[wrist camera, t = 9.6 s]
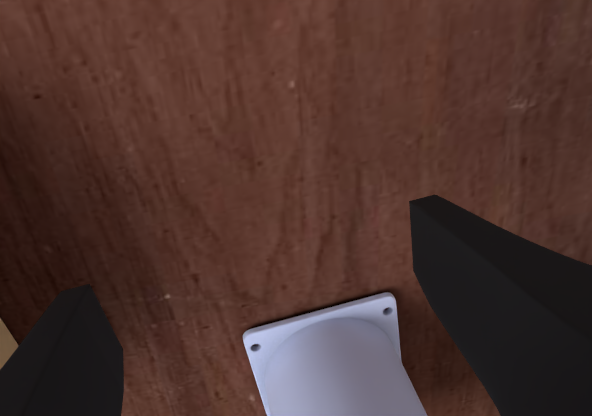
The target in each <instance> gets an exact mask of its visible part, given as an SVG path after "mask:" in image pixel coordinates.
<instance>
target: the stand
mask: <svg viewBox="0 0 592 416" xmlns="http://www.w3.org/2000/svg"><path fill="white" fill-rule="evenodd" d="M18 346H19V345H18V344H17V342H16V341H15V339H14V338H13V336H12V335H11V333H10V332H9V330H8V329H7V327H6V326H5V324H4V323H3V321H2V320H1V318H0V369H1V368H2V367H3V366H4V364H5V363H6V362H7V360H8V359H9V358H10V357H11V355H12V354H13V353H14V351H15V350H16V349H17V348H18Z"/></svg>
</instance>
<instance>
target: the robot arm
mask: <svg viewBox="0 0 592 416" xmlns="http://www.w3.org/2000/svg"><path fill="white" fill-rule="evenodd" d="M409 203H410V220H411V236H412V253H413V270H414V273H415V275H416V277H417V279H418V281H419V283H420V286H421V288H422V290H423V292H424V294H425V296H426V298H427V300H428V302H429V304H430V306H431V307H432V309H433V311H434V312H435V314H436V315H437V317H438V318H439V320H440V321H441V323H442V324H443V326H444V327H445V329H446V330H447V332H448V333H449V335H450V336H451V338H452V339H453V341H454V342H455V344H456V345H457V347H458V348H459V350H460V351H461V353H462V354H463V356H464V357H465V359H466V360H467V362H468V363H469V365H470V366H471V368H472V369H473V371H474V372H475V374H476V375H477V377H478V378H479V380H480V381H481V382H482V384H483V385H484V387H485V389H486V390H487V392H488V394H489V395H490V397H491V399H492V400H493V402H494V404H495V405H496V407H497V409H498V411H499V413H500V415H501V416H592V265H589V264H586V263H583V262H580V261H577V260H574V259H572V258H569V257H566V256H564V255H561V254H559V253H556V252H554V251H552V250H549V249H547V248H544V247H542V246H540V245H537V244H535V243H533V242H530V241H528V240H526V239H524V238H522V237H519V236H517V235H515V234H513V233H511V232H509V231H507V230H505V229H502V228H500V227H498V226H496V225H494V224H492V223H490V222H488V221H486V220H484V219H482V218H480V217H479V216H477V215H475V214H473V213H471V212H469V211H467V210H465V209H463V208H461V207H459V206H457V205H455V204H453V203H452V202H450V201H448V200H446V199H444V198H441V197H439V196H437V195H432V196H428V197H424V198H420V199H416V200H412V201H409ZM386 308H388V309H387V310H384V309H386ZM243 341H244V345H245V348H246V351H247V355H248V358H249V361H250V364H251V367H252V370H253V373H254V376H255V380H256V383H257V386H258V389H259V392H260V395H261V398H262V401H263V404H264V408H265V411H266V414H267V416H427V414H426V412H425V410H424V408H423V406H422V404H421V402H420V400H419V398H418V396H417V393H416V391H415V389H414V387H413V385H412V383H411V381H410V379H409V377H408V375H407V373H406V371H405V369H404V367H403V365H402V362H401V351H400V340H399V329H398V318H397V306H396V300H395V298H394V296H393V294H391V293H388V292H386V293H381V294H377V295H374V296H370V297H366V298H363V299H359V300H355V301H352V302H348V303H344V304H341V305H337V306H333V307H330V308H326V309H322V310H318V311H315V312H311V313H307V314H304V315H300V316H296V317H293V318H289V319H285V320H282V321H278V322H274V323H271V324H267V325H263V326H259V327H256V328H252V329H249V330H247V331H246V332H245V333H244V335H243ZM254 344H258V345H256V346H252V345H254ZM123 392H124V370H123V348H122V346H121V344H120V343H119V341H118V339H117V337H116V335H115V333H114V331H113V329H112V327H111V325H110V323H109V321H108V319H107V317H106V315H105V313H104V311H103V309H102V307H101V305H100V303H99V301H98V299H97V297H96V295H95V293H94V291H93V290H92V288H91V286H90V284H87V285H83V286H80V287H76V288H72V289H68V290H64V291H61V292H60V293H59V294H58V296H57V297H56V298H55V299H54V301H53V302H52V303H51V304H50V306H49V307H48V308H47V310H46V311H45V312H44V313H43V315H42V316H41V317H40V319H39V320H38V321H37V323H36V324H35V325H34V327H33V328H32V329H31V331H30V332H29V333H28V335H27V336H26V337H25V339H24V340H23V341H22V342H21V344H20V345H19V346H18V348H17V349H16V350H15V351H14V353H13V354H12V355H11V357H10V358H9V359H8V360H7V362H6V363H5V364H4V366H3V367H2V368H1V369H0V416H121V410H122V402H123Z"/></svg>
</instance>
